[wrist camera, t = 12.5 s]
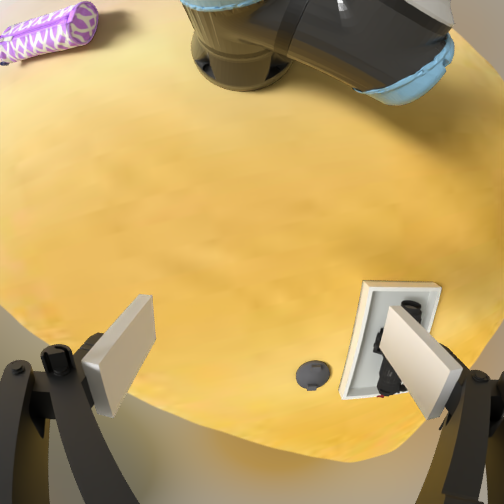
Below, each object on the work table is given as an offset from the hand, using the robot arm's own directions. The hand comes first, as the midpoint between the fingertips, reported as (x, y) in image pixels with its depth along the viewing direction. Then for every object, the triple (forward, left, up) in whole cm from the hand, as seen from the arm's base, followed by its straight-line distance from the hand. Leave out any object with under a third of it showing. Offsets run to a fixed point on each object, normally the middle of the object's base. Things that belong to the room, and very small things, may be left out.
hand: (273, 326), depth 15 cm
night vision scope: (+18, +25, -28) cm, 41 cm away
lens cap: (+25, +11, -29) cm, 40 cm away
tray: (+18, +24, -29) cm, 42 cm away
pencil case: (-36, -40, -29) cm, 61 cm away
